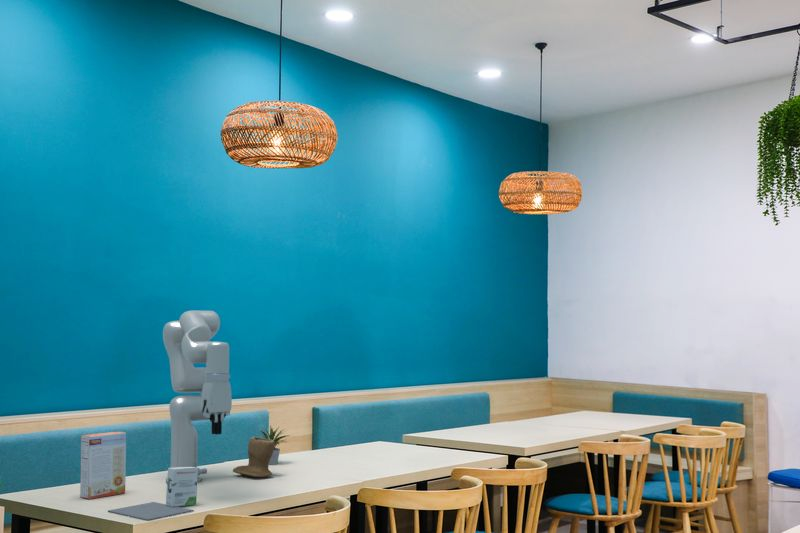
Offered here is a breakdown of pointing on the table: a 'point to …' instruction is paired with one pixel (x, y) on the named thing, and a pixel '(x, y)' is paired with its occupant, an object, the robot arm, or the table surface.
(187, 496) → the ink box
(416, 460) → the table surface
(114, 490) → the cracker box
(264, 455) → the brown suede boot shape
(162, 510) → the mat
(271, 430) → the house plant
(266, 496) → the table surface
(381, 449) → the table surface
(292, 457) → the table surface
